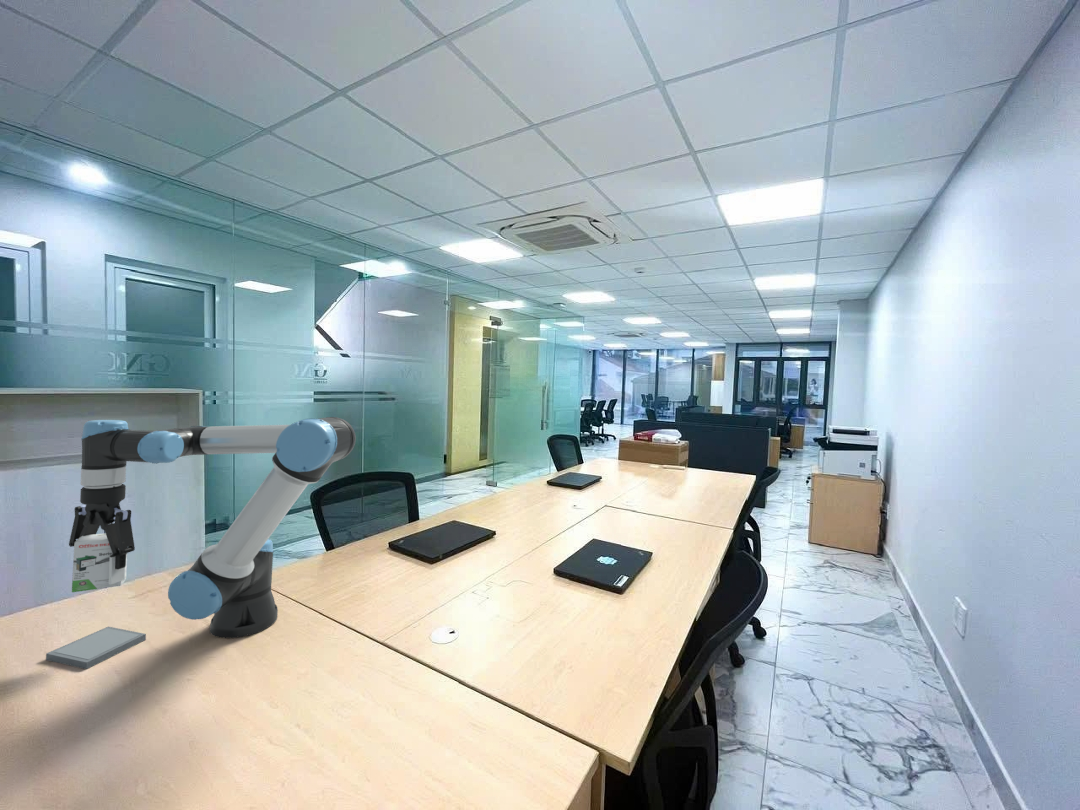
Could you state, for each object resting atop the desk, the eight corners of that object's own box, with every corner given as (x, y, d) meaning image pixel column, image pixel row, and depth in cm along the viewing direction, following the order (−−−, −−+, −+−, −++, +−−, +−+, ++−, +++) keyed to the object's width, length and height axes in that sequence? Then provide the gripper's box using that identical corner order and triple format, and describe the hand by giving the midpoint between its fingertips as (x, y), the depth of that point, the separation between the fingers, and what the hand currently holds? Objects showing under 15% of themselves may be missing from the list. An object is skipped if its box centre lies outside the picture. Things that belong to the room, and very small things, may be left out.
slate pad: (145, 639, 107) (145, 633, 107) (86, 669, 96) (86, 662, 96) (108, 632, 110) (108, 626, 110) (45, 659, 98) (46, 653, 98)
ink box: (70, 593, 98) (71, 541, 98) (77, 584, 102) (79, 535, 102) (122, 585, 103) (123, 536, 102) (127, 577, 107) (129, 530, 107)
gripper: (157, 486, 103) (154, 578, 104) (87, 478, 108) (84, 567, 108) (121, 492, 96) (118, 592, 97) (48, 483, 100) (45, 579, 101)
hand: (100, 578), depth 102 cm, fingers closed on ink box, 9 cm apart
